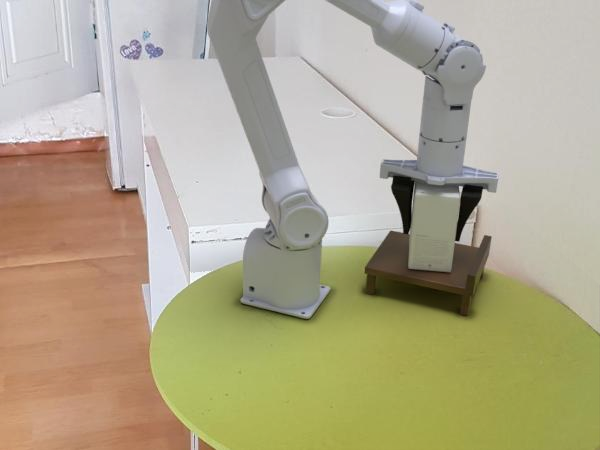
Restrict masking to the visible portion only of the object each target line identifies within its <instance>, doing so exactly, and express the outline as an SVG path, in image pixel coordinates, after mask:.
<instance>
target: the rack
mask: <svg viewBox="0 0 600 450" xmlns="http://www.w3.org/2000/svg"><path fill="white" fill-rule="evenodd" d="M384 237H385V238H384V239H383V240H382V242H381V243H380V244H379V246H378V247H377V249H376V250H375V252H374V253H373V255H372V256H371V257H370V259H369V260H368V262H367V263H366V264H365V266H364V271H363V274H365V275H366V285H365V294H368V295H374V294H375V292H376V284H377V283H376V282H377V277H379V278H383V279H388V280H392V281H396V282H401V283H407V284H411V285H415V286H421V287H424V288H429V289H433V290H434V289H435V290H437V291H443V292H448V293H453V294H456V295H457V294H458V295H460V296H461V295H462V297H461V302H460V303H461V304H460V311H459V314H460V315H461V316H465V317H468V316H469V314H470V309H471V302H472V298H473V297H474V294H475V293H476V290H477V287H478V285H479V282H480V279H483V278H484V275H485V274H484V272H485V266H486V264H487V262H488V259H489V256H490V250H491V245H492V239H493V238H492V235H487V234H484V235H483V237H482V240H481V241H480V244H479V247H478V246H474V245H467V244H462V243H459V242H455V245H454V253H453V262H452V269H451V272H440V271H429V270H417V269H409V268H408V261H409V238H410V233H409V234H403V232H401V231H396V230H389V231H388V233H387V234H386V236H384Z"/></svg>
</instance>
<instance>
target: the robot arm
mask: <svg viewBox="0 0 600 450" xmlns="http://www.w3.org/2000/svg"><path fill="white" fill-rule="evenodd" d="M324 1H325V2H327V3H329V4H331V5H333V6H334V7H336V8H338V9H339V10H341V11H343V12H344V13H346V14H348V15H350V16H351V17H353V18H355V19H356V20H358V21H360V22H361V23H364V24H365V25H366V26H369V27H370V30H371V33H372V39H373V41H374V44H375V45H376V46H378V47H379V48H381V49H383V50H384V51H386V52H388V53H389V54H391V55H392V56H394V57H396V58H398V59H399V60H401V61H402V62H404V63H406V64H407V65H409V66H410V67H412V68H414V69H415V70H417V71H420V72H421V73H422V74H423V75H424V76H425V78H424V86H423V87H424V88H423V96H422V106H421V116H420V125H419V134H418V135H419V136H418V145H417V154H416V157H417V158H416V159H386V158H383V159H382V161H381V163H380V168H379V179H383V180H388V179H389V178H392V182H391V185H390V190H391V193H392V195H393V197H394V199H395V202H396V204H397V207H398V209H399V214H400V218H401V224H402V233H403V234H410V228H411V220H412V206H413V195H414V185H415V181H422V182H427V183H428V184H433V185H444V184H446V185H454V186H459V187H461V192H460V205H459V213H458V221H457V229H456V237H455V242H457V243H459V242H461V241H460V240H461V236H462V233H463V232H464V231H463V230H464V228H465V227H466V224H467V222H468V220H469V218H470V216H471V215H472V214H473V212H474V211H475V209H476V208H477V206H478V205H479V203H480V202H481V200H482V196H483V191H484V190H486V191H487V193H492V194H493V193H495V194H496V193H497V191H498V184H499V183H498V182H499V176H500V173H499V172H494V171H489V170H483V169H480V168H475V167H472V166H468V165H464V162H465V161H464V160H465V154H466V153H465V152H466V145H467V137H468V131H469V130H468V129H469V121H470V115H471V114H470V113H471V106H472V100H473V96H474V94H473V93H474V90H475V88H476V86H477V85H478V84H479V83H480V82H481V80H483V79H482V78H483V77H484V75H485V72H486V69H487V65H486V64H485V63H484V57H483V54H482V52H481V50H480V49H481V48H479V47H478V45H477V44H475V43H474V42H472V41H470V40H468V39H466V38H464V37H461V36H459V35H458V34H456V33H454V32H455V30H456V28H455V27H454V25H452V24H450V23H448V22H444V23H442V22H439V21H438V20H436V19H435V18H433V17H431V16H430V15H428V14H427V13H425V12H424V11H423V10H424V9H425V5H424V4H422V3H420V2H419V1H418V0H410V1H408V0H391V1H387V2H386V1H384V0H324ZM284 2H286V0H211V2H210V6H209V11H208V15H207V20H206V31H207V35H208V38H209V40H210V43H211V46H212V48H213V51H214V54H215V57H216V60H217V62H218V65H219V67H220V70H221V72H222V75H223V77H224V80H225V83H226V86H227V89H228V92H229V94H230V97H231V99H232V102H233V105H234V107H235V110H236V113H237V115H238V118H239V121H240V123H241V125H242V127H243V131H244V134H245V137H246V139H247V142H248V144H249V147H250V150H251V152H252V155H253V158H254V160H255V163H256V165H257V168H258V175H259V177H260V181H261V184H262V190H261V191H262V192H261V204H262V207H263V209H264V211H265V212H266V213H267V215H268V217H269V220H268V221H267V223H266V225H265V227H255V228H253V229H252V230H251V232H249V234H248V236H247V237H246V241H245V242H244V243H245V244H244V248H243V255H242V297H241V298H240V303H241V304H243V305H248V306H252V307H256V308H260V309H264V310H268V311H273V312H276V313H277V312H278V313H281V314H284V315H289V316H293V317H296V318H301V319H305V320H308V319H311V318H312V316H313V315H314V313H315V312H316V311H317V310H318V308H319V307H320V305H321V304H322V303H323V301H325V299H326V297H327V296H328V294H329V293H330V292H331V287H330V286H328V285H324V284H321V276H322V275H321V273H322V250H323V238H324V237H325V236H326V234H327V231H328V228H329V216H328V212H327V211H326V209H325V208H324V207H323V205H322V204H321V203H319V201H318V200H317V198H316V197H315V196H314V194H313V192H312V191H311V188H310V186H309V184H308V181H307V179H306V177H305V175H304V173H303V171H302V168H301V165H300V164H299V161H298V158H297V154H296V151H295V148H294V146H293V143H292V141H291V138H290V135H289V131H288V129H287V126H286V123H285V121H284V117H283V114H282V112H281V108H280V105H279V103H278V100H277V97H276V94H275V91H274V88H273V85H272V82H271V80H270V77H269V74H268V69H267V68H266V65H265V62H264V58H263V56H262V53H261V51H260V48H259V45H258V42H257V36H258V35H259V33H260V31H261V29H262V28H263V26H264V24H265V23H266V20H267V19H268V17H269V15H271V14H272V13H273V12H274V11H276V10H277V8H279V7H280V6H281V5H282V4H283V3H284Z"/></svg>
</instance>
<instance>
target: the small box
mask: <svg viewBox="0 0 600 450" xmlns="http://www.w3.org/2000/svg"><path fill="white" fill-rule="evenodd" d="M460 198H461V192H460V186H454V185H446V184H444V185H433V184H428V183H427V182H422V181H415V183H414V191H413V199H412V220H411V228H410V231H409V234H410V238H409V261H408V268H409V269H417V270H429V271H440V272H451V269H452V262H453V253H454V245H455V243H456V241H455V237H456V229H457V222H458V216H459V207H460Z"/></svg>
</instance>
